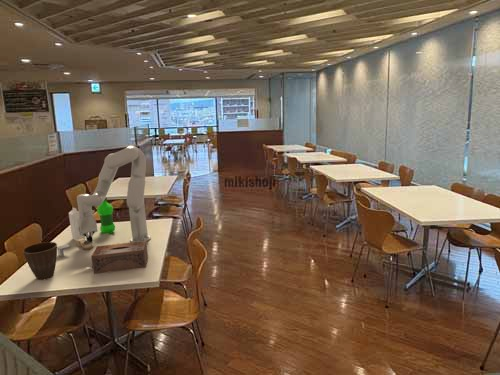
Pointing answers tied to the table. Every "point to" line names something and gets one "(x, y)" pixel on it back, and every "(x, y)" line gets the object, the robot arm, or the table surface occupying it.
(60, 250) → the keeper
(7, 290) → the table surface
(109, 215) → the plastic bottle
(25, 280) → the table surface
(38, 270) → the plant pot
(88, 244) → the link
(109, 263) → the tissue box cover
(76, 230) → the milk
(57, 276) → the table surface
